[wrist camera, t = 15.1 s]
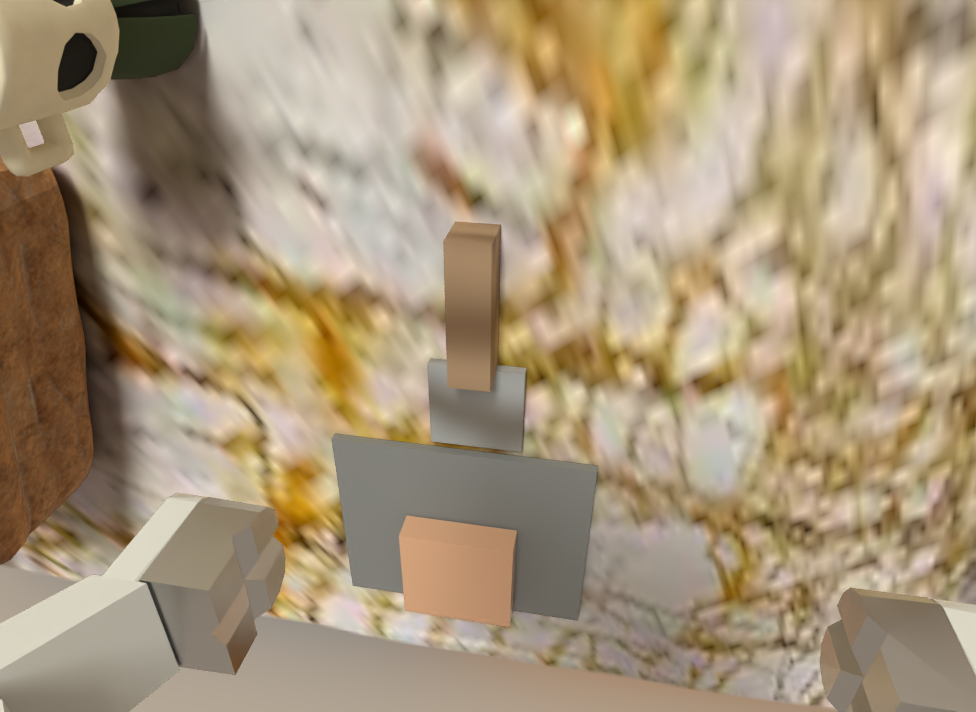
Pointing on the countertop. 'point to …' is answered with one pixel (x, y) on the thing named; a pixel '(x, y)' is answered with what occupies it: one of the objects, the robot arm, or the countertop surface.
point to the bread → (38, 360)
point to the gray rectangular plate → (468, 512)
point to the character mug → (76, 64)
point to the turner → (474, 349)
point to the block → (458, 570)
